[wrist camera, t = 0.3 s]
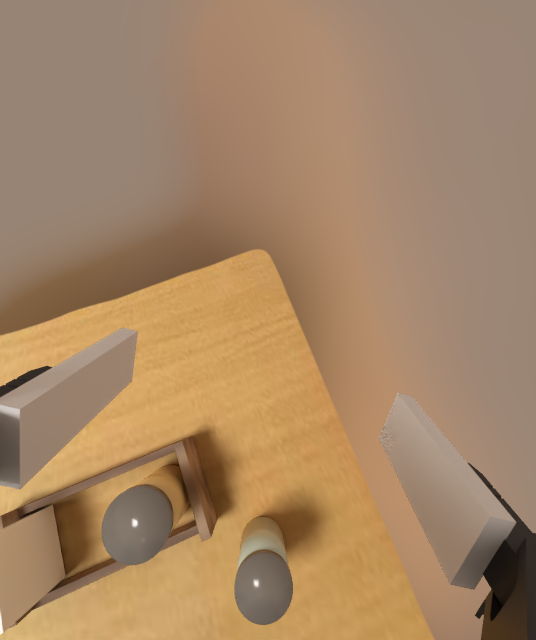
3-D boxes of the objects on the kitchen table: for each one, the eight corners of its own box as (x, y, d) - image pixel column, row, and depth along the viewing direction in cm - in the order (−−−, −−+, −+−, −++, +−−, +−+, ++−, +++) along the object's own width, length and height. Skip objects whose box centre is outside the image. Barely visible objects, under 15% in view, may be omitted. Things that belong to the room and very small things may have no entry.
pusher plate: (65, 576, 39) (-15, 649, 28) (50, 583, 39) (-37, 659, 27) (52, 504, 41) (-27, 544, 30) (38, 510, 41) (-48, 553, 30)
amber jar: (200, 506, 42) (179, 546, 31) (152, 528, 41) (110, 578, 30) (186, 456, 44) (160, 476, 32) (139, 476, 43) (94, 503, 31)
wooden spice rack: (217, 518, 42) (210, 537, 36) (30, 604, 38) (-10, 639, 33) (191, 436, 45) (182, 441, 39) (16, 508, 41) (-23, 526, 36)
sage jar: (290, 554, 41) (302, 607, 30) (249, 574, 40) (246, 636, 30) (274, 508, 43) (279, 543, 32) (234, 527, 42) (226, 569, 31)
